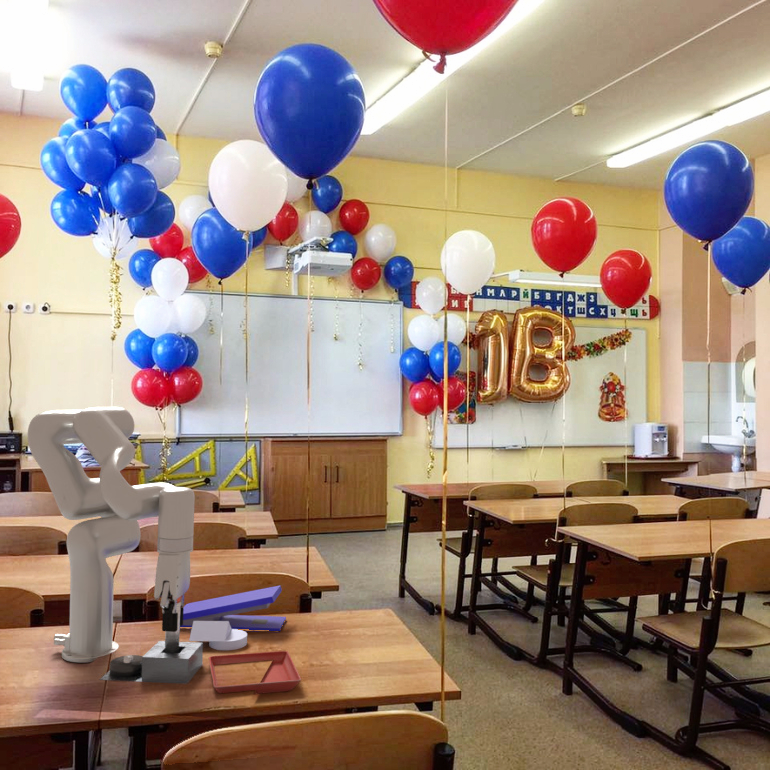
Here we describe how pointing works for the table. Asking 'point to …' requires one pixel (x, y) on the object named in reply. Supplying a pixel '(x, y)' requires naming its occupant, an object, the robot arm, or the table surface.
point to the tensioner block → (158, 665)
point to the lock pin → (173, 633)
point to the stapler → (236, 610)
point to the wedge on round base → (218, 635)
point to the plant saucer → (275, 679)
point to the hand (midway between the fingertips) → (172, 627)
